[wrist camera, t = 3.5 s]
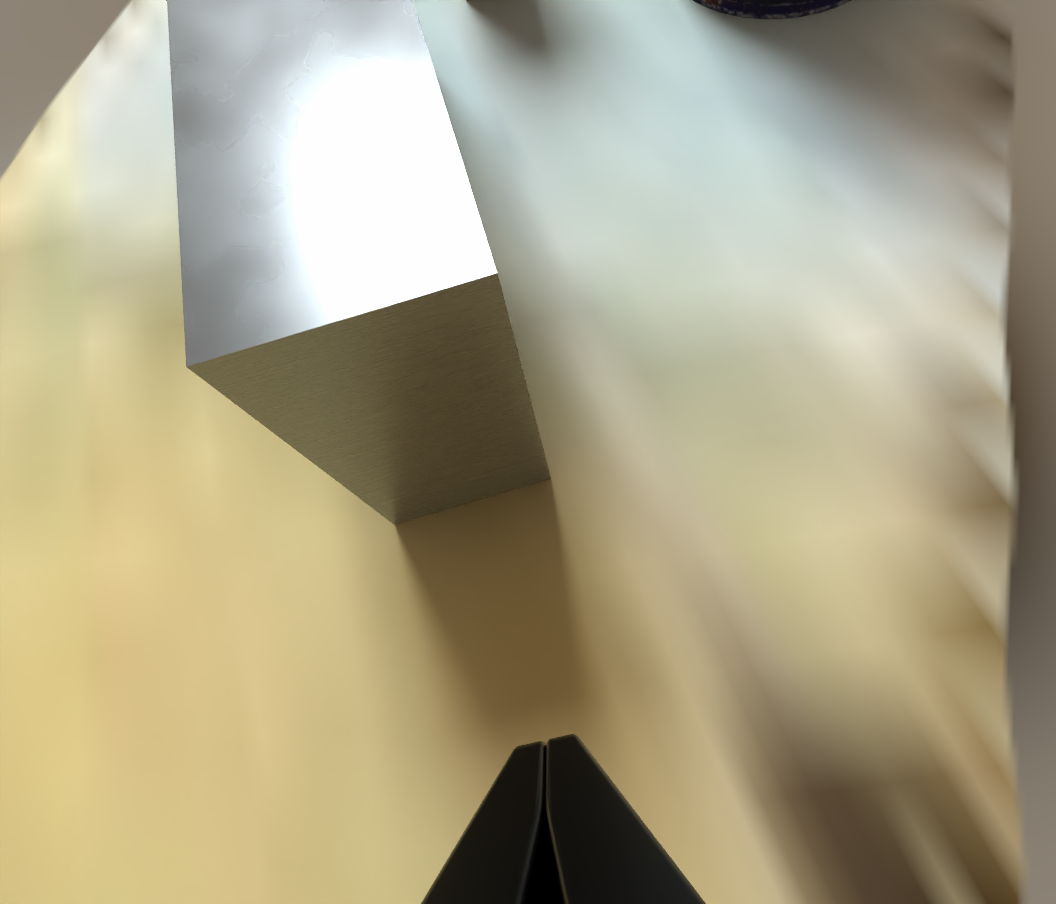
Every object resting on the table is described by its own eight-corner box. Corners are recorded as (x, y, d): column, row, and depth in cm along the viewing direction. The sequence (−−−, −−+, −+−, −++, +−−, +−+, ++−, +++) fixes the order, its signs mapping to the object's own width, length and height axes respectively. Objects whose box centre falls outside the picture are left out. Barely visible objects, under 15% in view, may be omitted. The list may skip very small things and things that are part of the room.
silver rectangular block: (554, 478, 18) (503, 271, 9) (393, 526, 18) (181, 368, 9) (427, 62, 26) (328, -283, 17) (312, 97, 26) (151, -228, 17)
